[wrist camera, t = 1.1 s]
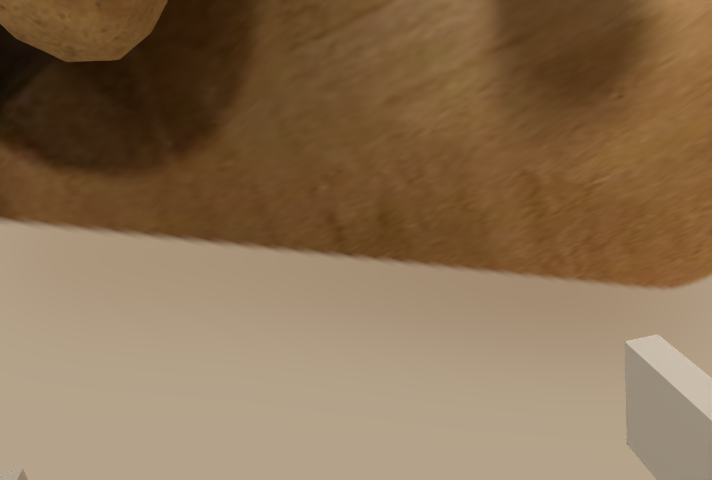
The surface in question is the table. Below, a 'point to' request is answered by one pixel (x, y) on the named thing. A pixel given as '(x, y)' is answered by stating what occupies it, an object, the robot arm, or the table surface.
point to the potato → (81, 26)
